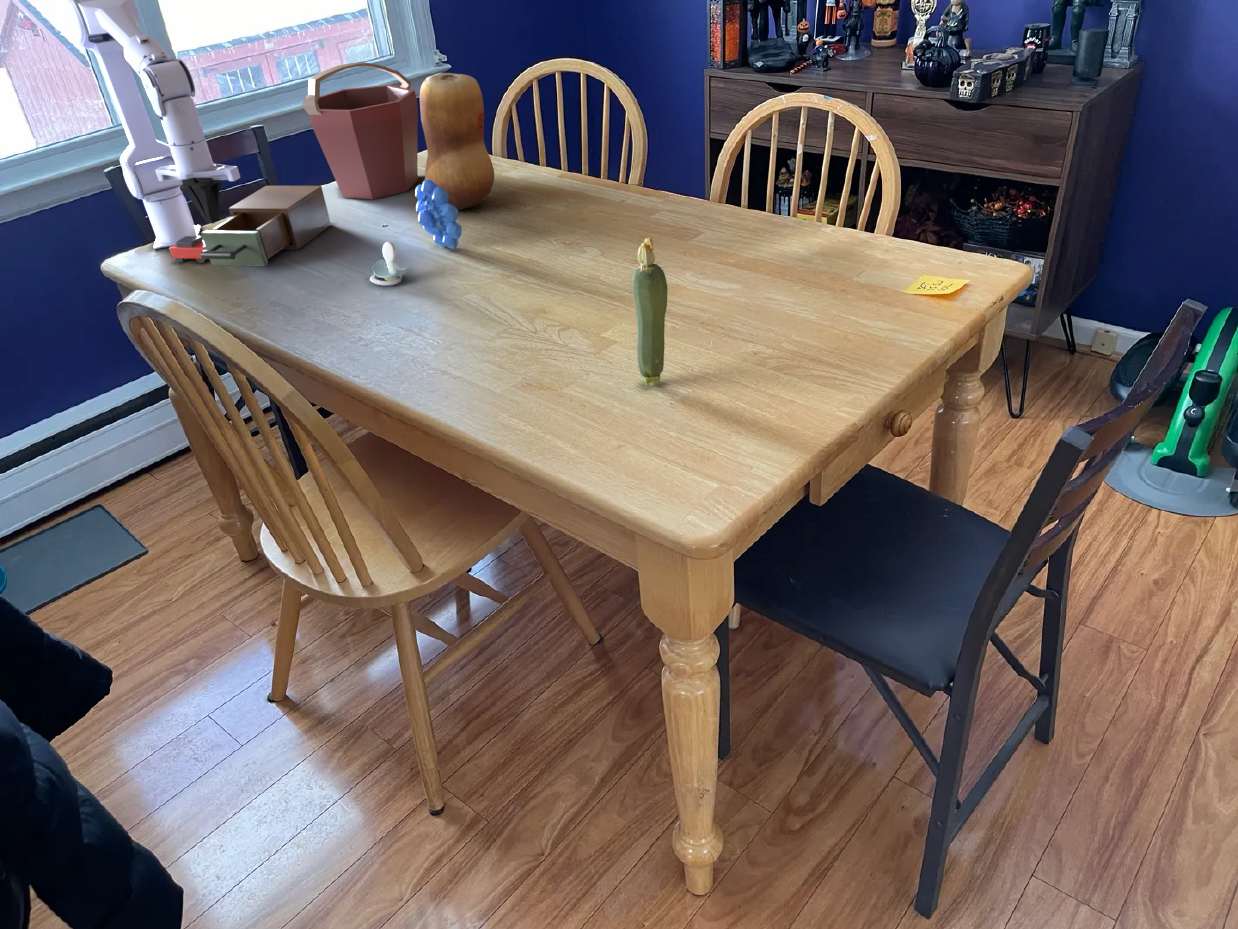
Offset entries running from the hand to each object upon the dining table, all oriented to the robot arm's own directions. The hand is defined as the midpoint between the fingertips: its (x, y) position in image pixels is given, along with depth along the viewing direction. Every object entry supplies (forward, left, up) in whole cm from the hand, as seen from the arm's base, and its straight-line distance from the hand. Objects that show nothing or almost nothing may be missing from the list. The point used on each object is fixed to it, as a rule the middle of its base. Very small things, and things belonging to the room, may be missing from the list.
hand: (213, 221), depth 159 cm
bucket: (-39, +29, -10) cm, 50 cm away
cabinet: (-15, +10, -10) cm, 21 cm away
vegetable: (+69, +57, -10) cm, 90 cm away
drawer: (-4, +3, -9) cm, 10 cm away
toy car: (-11, -6, -10) cm, 16 cm away
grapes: (+6, +37, -10) cm, 39 cm away
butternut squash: (-15, +45, -10) cm, 48 cm away
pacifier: (+17, +27, -10) cm, 33 cm away
